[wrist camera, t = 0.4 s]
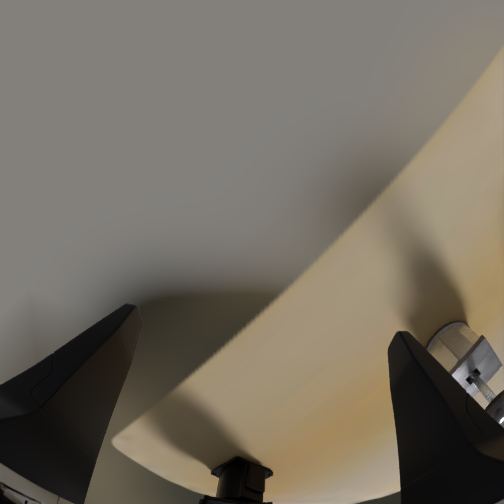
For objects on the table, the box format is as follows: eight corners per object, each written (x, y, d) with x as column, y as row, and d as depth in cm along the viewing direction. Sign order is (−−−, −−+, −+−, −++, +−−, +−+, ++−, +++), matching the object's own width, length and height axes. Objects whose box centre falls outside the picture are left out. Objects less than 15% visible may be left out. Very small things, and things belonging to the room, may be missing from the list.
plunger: (458, 395, 22) (491, 443, 14) (440, 378, 22) (478, 431, 14) (490, 361, 21) (530, 403, 13) (475, 340, 20) (522, 385, 13)
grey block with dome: (444, 385, 27) (465, 415, 21) (412, 356, 26) (435, 389, 20) (482, 345, 26) (507, 370, 20) (455, 309, 25) (485, 334, 19)
